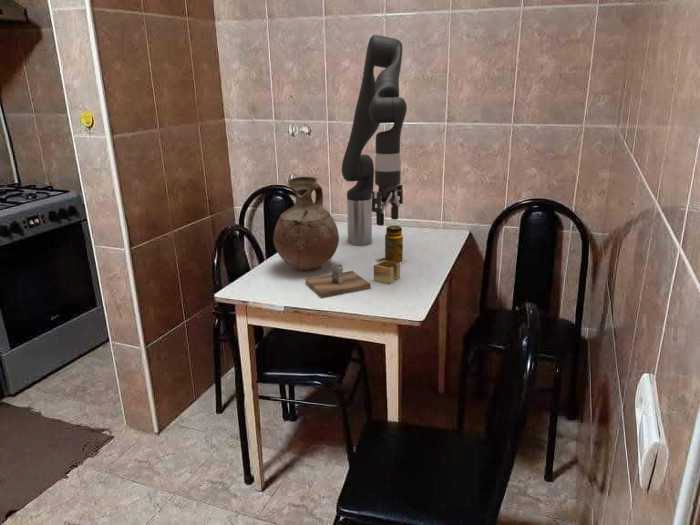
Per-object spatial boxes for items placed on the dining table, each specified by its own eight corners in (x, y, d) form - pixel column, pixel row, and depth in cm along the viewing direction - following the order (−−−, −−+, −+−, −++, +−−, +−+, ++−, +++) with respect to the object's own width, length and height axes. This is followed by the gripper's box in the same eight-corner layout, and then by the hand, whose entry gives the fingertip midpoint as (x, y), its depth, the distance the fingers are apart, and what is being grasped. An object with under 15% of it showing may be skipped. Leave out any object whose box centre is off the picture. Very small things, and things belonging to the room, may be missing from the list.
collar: (373, 280, 167) (373, 265, 165) (383, 274, 172) (383, 260, 170) (390, 284, 164) (390, 268, 162) (400, 278, 168) (400, 263, 167)
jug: (263, 274, 174) (256, 183, 164) (292, 254, 193) (288, 171, 183) (325, 281, 167) (321, 186, 157) (348, 260, 186) (347, 174, 176)
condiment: (407, 261, 184) (408, 227, 180) (388, 266, 179) (388, 231, 175) (394, 256, 190) (394, 223, 186) (375, 260, 185) (375, 227, 181)
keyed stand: (305, 283, 166) (304, 263, 163) (352, 275, 172) (352, 255, 170) (321, 297, 154) (320, 276, 152) (370, 288, 161) (370, 268, 158)
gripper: (386, 172, 149) (386, 229, 154) (410, 165, 160) (409, 218, 165) (363, 171, 153) (364, 225, 158) (389, 164, 164) (388, 215, 169)
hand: (387, 222), depth 162 cm, fingers open, 8 cm apart
